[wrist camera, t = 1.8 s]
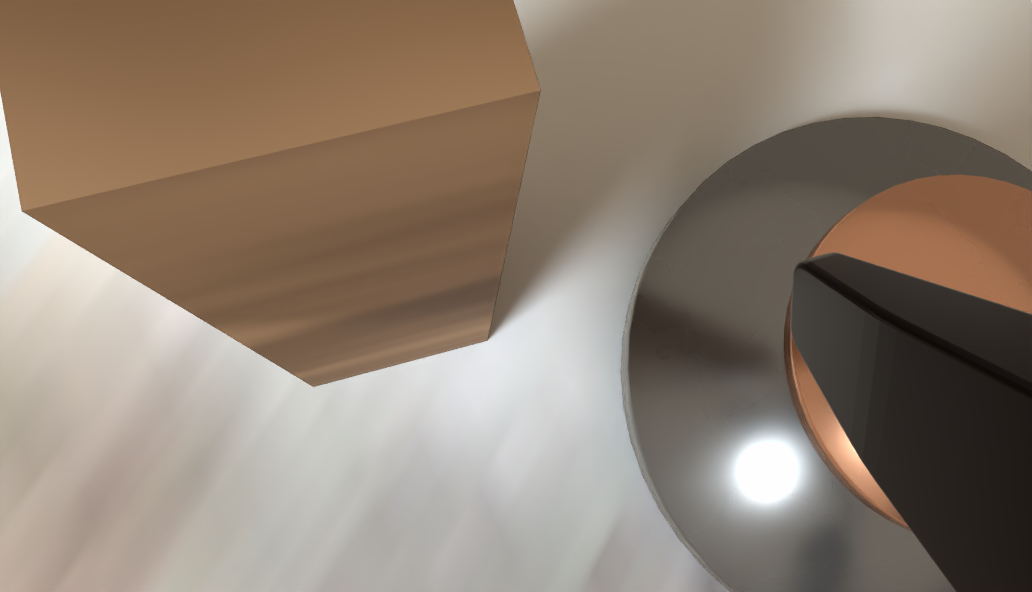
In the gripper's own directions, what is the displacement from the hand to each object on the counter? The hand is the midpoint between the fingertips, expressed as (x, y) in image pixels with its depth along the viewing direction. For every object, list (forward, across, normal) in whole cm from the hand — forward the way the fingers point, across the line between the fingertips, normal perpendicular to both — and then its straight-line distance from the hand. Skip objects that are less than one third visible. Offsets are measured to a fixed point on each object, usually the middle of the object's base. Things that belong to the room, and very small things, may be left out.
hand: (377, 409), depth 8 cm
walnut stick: (+10, 0, +5) cm, 11 cm away
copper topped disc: (+7, -10, +8) cm, 15 cm away
